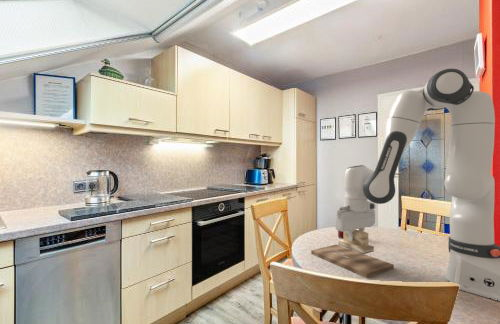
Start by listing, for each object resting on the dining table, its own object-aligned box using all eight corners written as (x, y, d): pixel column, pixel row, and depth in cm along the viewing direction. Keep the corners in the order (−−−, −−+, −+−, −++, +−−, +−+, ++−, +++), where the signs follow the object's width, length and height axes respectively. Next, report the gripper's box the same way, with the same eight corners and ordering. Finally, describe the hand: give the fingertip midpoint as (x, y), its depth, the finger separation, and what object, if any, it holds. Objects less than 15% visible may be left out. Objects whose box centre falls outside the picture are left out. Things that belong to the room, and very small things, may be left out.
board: (393, 268, 94) (393, 264, 94) (366, 278, 86) (366, 273, 86) (336, 247, 119) (336, 244, 119) (311, 253, 111) (311, 250, 111)
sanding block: (373, 251, 96) (373, 233, 96) (363, 254, 93) (363, 235, 93) (348, 242, 106) (348, 226, 106) (338, 244, 103) (338, 228, 103)
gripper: (344, 208, 92) (344, 245, 92) (378, 204, 102) (378, 237, 102) (331, 206, 97) (331, 240, 97) (364, 202, 107) (364, 233, 107)
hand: (355, 239), depth 99 cm, fingers closed on sanding block, 4 cm apart
